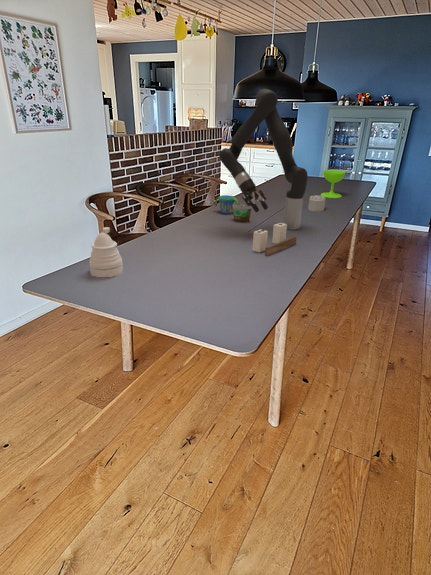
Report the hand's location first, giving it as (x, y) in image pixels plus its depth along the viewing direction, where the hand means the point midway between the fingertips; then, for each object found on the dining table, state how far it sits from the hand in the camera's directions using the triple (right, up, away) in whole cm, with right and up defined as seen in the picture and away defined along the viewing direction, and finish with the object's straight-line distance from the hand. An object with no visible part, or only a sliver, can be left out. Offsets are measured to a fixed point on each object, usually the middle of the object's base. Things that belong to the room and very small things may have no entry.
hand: (262, 210), depth 193 cm
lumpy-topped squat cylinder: (+45, +14, +68) cm, 83 cm away
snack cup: (-16, +9, +55) cm, 58 cm away
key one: (+8, -16, -1) cm, 18 cm away
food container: (-9, +1, +38) cm, 39 cm away
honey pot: (-68, -32, -35) cm, 83 cm away
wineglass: (+67, +33, +108) cm, 131 cm away
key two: (-3, -21, -12) cm, 24 cm away
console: (+3, -20, -6) cm, 21 cm away
